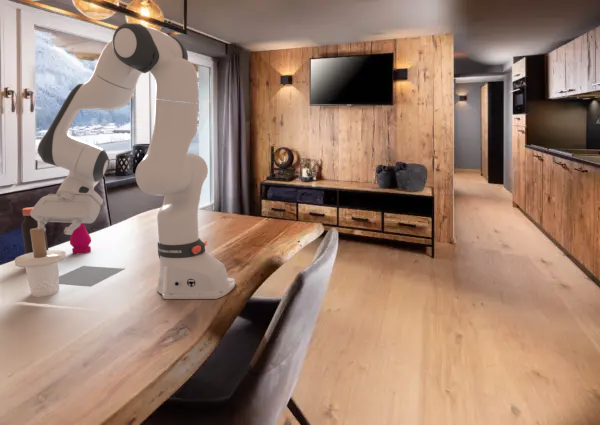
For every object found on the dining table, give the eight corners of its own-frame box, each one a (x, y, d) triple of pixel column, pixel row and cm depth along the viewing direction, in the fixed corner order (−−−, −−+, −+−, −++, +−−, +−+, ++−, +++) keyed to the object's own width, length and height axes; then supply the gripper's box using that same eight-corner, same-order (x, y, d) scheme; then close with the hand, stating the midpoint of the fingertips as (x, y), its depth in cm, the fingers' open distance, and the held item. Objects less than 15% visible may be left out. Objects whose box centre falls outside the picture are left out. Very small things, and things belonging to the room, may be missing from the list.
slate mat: (125, 270, 135) (125, 268, 135) (91, 288, 120) (91, 286, 119) (83, 267, 138) (83, 265, 138) (45, 284, 123) (44, 282, 123)
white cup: (51, 299, 112) (46, 264, 110) (22, 299, 112) (17, 264, 110) (67, 288, 120) (63, 255, 118) (41, 288, 120) (36, 256, 118)
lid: (75, 255, 118) (71, 224, 117) (42, 268, 107) (37, 235, 105) (40, 253, 121) (36, 223, 119) (3, 265, 109) (-2, 233, 108)
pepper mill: (95, 251, 157) (89, 200, 153) (75, 256, 152) (68, 203, 148) (88, 248, 162) (82, 198, 158) (68, 252, 156) (61, 200, 152)
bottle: (36, 261, 146) (28, 206, 142) (54, 261, 145) (47, 206, 141) (22, 267, 139) (13, 209, 135) (40, 267, 138) (32, 210, 135)
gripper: (38, 187, 125) (15, 226, 117) (97, 189, 121) (76, 228, 113) (51, 199, 130) (30, 237, 122) (108, 201, 126) (89, 240, 118)
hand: (53, 233), depth 118 cm, fingers open, 8 cm apart
